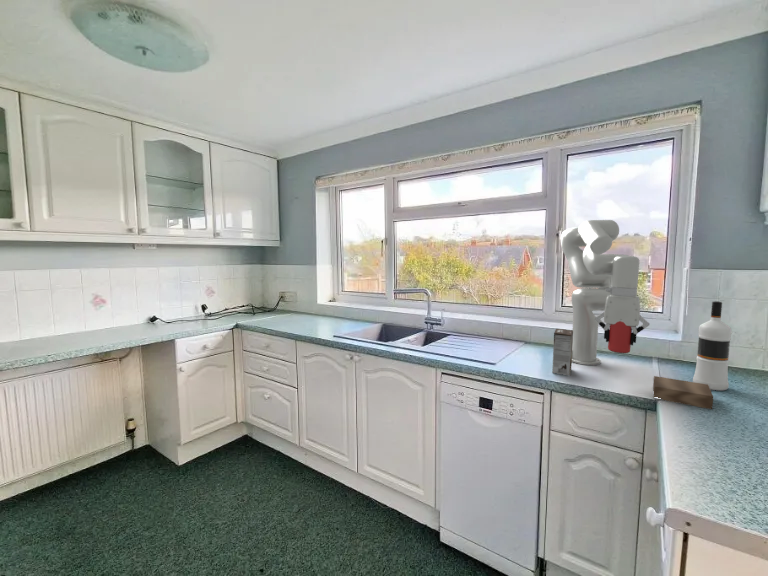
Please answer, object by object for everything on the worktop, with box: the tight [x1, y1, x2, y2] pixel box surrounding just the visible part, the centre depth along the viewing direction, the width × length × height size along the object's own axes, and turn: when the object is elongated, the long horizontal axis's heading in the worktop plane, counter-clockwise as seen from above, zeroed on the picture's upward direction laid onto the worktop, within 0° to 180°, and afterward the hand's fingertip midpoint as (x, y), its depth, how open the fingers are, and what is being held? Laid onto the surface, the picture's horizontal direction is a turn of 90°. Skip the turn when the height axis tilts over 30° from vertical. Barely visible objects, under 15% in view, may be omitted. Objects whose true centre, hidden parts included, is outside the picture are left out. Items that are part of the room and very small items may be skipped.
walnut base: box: [652, 375, 714, 410], centre depth 116 cm, size 14×12×4 cm
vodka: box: [692, 300, 733, 392], centre depth 124 cm, size 9×9×30 cm
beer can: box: [607, 319, 632, 354], centre depth 125 cm, size 7×7×12 cm
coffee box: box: [552, 328, 573, 376], centre depth 141 cm, size 9×6×16 cm
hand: (619, 342), depth 125 cm, fingers closed on beer can, 6 cm apart
